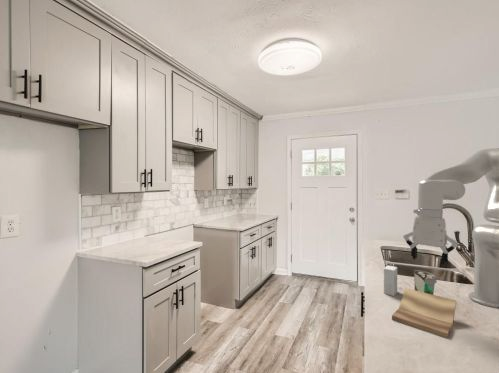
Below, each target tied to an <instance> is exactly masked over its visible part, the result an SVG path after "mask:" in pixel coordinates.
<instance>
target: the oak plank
mask: <svg viewBox="0 0 499 373" xmlns="http://www.w3.org/2000/svg"><path fill="white" fill-rule="evenodd" d="M398 308H399V309H402V310H406V311H409V312H412V313H416V314H419V315H422V316H425V317H429V318H432V319H435V320H439V321H442V322H445V323H449V324H452V327H453V326H454V320H455V315H456V308H457V300H455V299H452V298H447V297H443V296H440V295H436V294H433V295H432V294H428V293H424V292H420V291H416V290H415V289H412V288H407V287H405V288H404V292H403V295H402V298H401V301H400V303H399V306H398Z"/></svg>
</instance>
